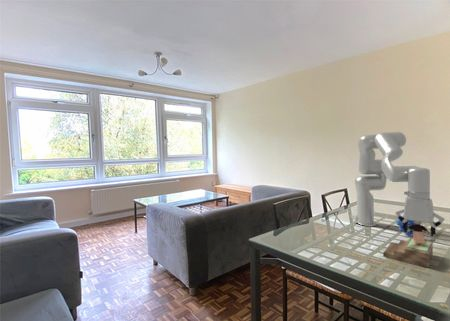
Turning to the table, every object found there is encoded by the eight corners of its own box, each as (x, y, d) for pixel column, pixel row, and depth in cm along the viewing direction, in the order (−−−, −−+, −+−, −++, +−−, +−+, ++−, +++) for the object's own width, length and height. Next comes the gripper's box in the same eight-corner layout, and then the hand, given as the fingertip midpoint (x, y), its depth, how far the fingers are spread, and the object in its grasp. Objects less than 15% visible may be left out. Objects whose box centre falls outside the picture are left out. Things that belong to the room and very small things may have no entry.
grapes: (393, 235, 135) (393, 214, 135) (398, 232, 139) (397, 212, 139) (419, 241, 126) (419, 218, 125) (423, 237, 130) (423, 216, 130)
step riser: (383, 256, 111) (383, 243, 110) (391, 245, 122) (391, 233, 121) (428, 267, 99) (428, 253, 99) (432, 254, 110) (432, 241, 110)
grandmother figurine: (426, 243, 108) (426, 216, 107) (430, 247, 104) (429, 218, 104) (406, 241, 111) (405, 215, 110) (408, 244, 108) (408, 217, 107)
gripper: (393, 194, 110) (393, 231, 111) (444, 199, 97) (444, 240, 98) (396, 192, 115) (397, 227, 116) (445, 196, 103) (445, 235, 103)
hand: (418, 233), depth 107 cm, fingers open, 8 cm apart
